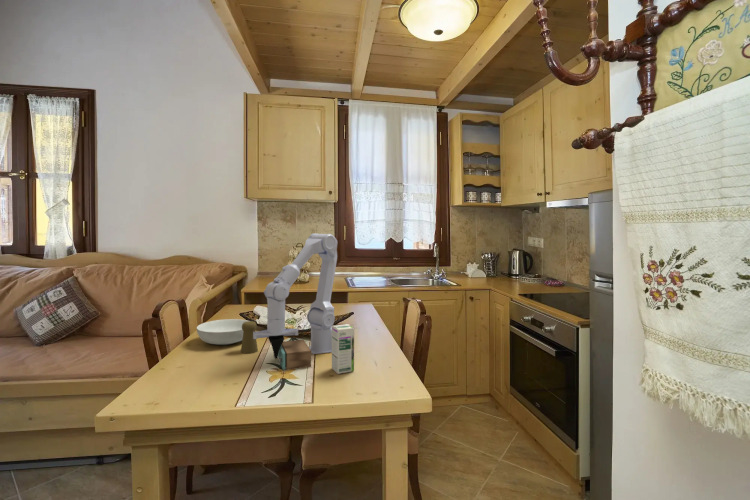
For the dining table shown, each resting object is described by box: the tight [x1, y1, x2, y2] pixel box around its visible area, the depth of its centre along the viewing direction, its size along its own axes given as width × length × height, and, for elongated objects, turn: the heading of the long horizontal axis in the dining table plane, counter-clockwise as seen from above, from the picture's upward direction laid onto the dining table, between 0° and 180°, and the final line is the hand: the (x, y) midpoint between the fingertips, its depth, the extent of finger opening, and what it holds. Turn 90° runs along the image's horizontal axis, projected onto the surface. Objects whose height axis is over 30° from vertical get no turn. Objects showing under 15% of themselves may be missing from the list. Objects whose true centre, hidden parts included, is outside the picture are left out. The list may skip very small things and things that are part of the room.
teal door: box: [277, 345, 286, 371], centre depth 122 cm, size 2×13×5 cm, turn 22°
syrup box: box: [331, 323, 355, 375], centre depth 117 cm, size 6×6×14 cm
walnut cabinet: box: [282, 339, 312, 371], centre depth 124 cm, size 8×13×6 cm, turn 23°
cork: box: [240, 320, 258, 355], centre depth 133 cm, size 6×6×11 cm
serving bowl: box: [196, 318, 249, 346], centre depth 144 cm, size 21×21×7 cm
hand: (275, 357), depth 122 cm, fingers closed
